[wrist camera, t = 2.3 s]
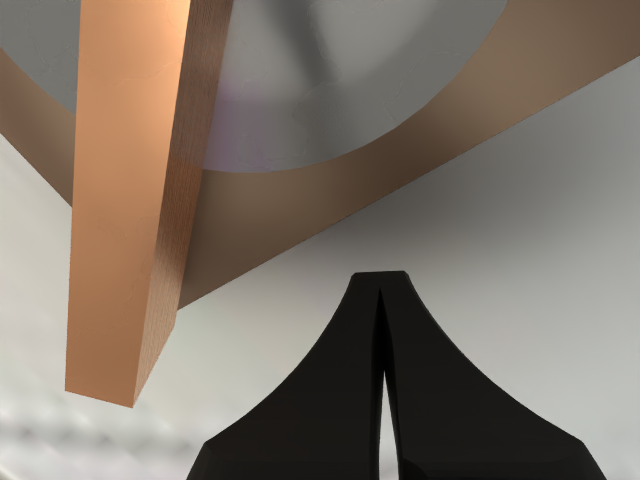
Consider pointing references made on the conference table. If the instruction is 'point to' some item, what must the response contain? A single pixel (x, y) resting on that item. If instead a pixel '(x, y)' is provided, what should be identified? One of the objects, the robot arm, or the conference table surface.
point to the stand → (367, 161)
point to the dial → (208, 128)
